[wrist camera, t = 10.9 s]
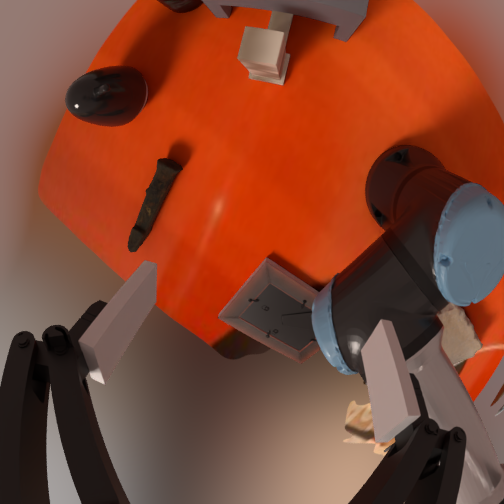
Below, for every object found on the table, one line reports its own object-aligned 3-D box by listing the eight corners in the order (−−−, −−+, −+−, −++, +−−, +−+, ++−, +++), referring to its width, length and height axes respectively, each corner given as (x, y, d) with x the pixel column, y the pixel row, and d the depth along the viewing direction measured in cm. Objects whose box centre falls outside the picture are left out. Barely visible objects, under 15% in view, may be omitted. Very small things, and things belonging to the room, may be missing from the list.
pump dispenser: (158, 121, 40) (103, 128, 26) (108, 127, 41) (48, 140, 27) (158, 63, 35) (104, 48, 21) (107, 75, 36) (47, 71, 23)
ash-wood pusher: (317, -14, 26) (325, -55, 14) (293, 87, 35) (294, 73, 23) (266, -23, 26) (256, -66, 14) (240, 77, 35) (217, 60, 23)
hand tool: (166, 154, 42) (154, 158, 38) (186, 166, 43) (175, 172, 39) (128, 237, 51) (116, 248, 47) (144, 248, 52) (132, 260, 48)
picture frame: (353, 313, 52) (266, 255, 49) (355, 321, 50) (265, 262, 47) (301, 356, 60) (220, 310, 56) (301, 364, 58) (217, 318, 54)
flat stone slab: (461, 284, 46) (389, 335, 52) (479, 303, 40) (400, 359, 46) (472, 340, 54) (414, 380, 60) (484, 358, 48) (423, 400, 53)
